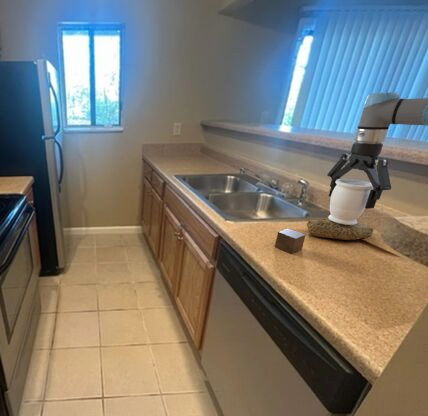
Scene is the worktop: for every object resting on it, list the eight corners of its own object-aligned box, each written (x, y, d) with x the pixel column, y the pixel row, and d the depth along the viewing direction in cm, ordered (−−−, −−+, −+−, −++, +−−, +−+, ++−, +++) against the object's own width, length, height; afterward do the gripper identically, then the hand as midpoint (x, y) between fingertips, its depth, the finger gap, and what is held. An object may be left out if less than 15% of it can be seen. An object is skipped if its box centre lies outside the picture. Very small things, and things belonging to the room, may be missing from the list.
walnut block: (301, 250, 96) (306, 234, 94) (291, 254, 93) (295, 238, 91) (284, 242, 101) (288, 228, 99) (274, 246, 98) (277, 231, 96)
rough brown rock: (308, 241, 104) (381, 244, 93) (308, 221, 103) (381, 221, 92) (305, 234, 115) (370, 235, 104) (305, 216, 114) (370, 215, 103)
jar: (339, 214, 108) (351, 177, 103) (368, 224, 99) (383, 185, 93) (317, 216, 106) (328, 179, 101) (344, 228, 97) (358, 187, 91)
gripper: (325, 138, 103) (311, 192, 111) (401, 147, 80) (377, 214, 87) (342, 137, 104) (327, 191, 111) (423, 146, 81) (397, 213, 88)
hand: (349, 201), depth 99 cm, fingers open, 13 cm apart
